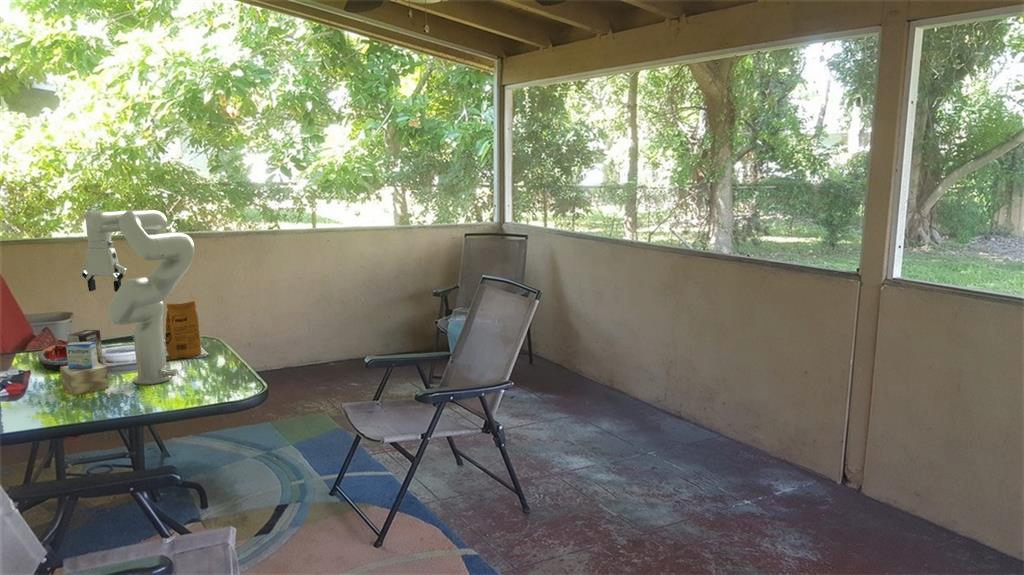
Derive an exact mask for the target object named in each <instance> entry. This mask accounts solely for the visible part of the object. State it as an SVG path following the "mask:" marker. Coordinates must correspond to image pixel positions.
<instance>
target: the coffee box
mask: <svg viewBox="0 0 1024 575" xmlns="http://www.w3.org/2000/svg"><path fill="white" fill-rule="evenodd" d="M66 338H67V344H69V343H71V342H94V341H95V342H96V351H97V361H98V362H99V363H100V364H102V365H104V357H103V348H102V339H101V338H102V337H101V330H100V329H83V330H81V331H77V332H76V331H75V332H74V333H70V334H67V335H66ZM104 366H105V365H104Z"/></svg>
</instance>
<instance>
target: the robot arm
mask: <svg viewBox="0 0 1024 575" xmlns="http://www.w3.org/2000/svg"><path fill="white" fill-rule="evenodd" d="M84 218H85V225H86V234H87V244H88V245H87V246H88V248H87V249H86V257H85V258H86V259H85V261H86V263H85V265H83V266H82V267H79V272H80V274H81V276H82V277H83V278H84V279H85V281H87V288H88V292H93V291H96V290H97V287H96V280H95V277H97V276H98V277H111V278H112V279H114V280H113V290H114V292H115V294H114V296H113V297H112V300H111V301H110V303H109V306H108V317H109V319H110V320H111V322H113V324H116V325H119V326H126V325H130V324H134V323H135V326H134V329H133V343H134V351H135V352H134V353H135V361H136V373H137V375H136V376H135V377H133V379H132V381H133V384H135V385H148V386H149V385H155V384H161V383H165V382H168V381H169V380H171V379H173V377H176V376H177V374H178V370H177V369H174V368H173V369H171V366H170V365H167V357H166V344H165V337H164V312H165V311H164V310H165V303H164V302H165V300H167V299H168V297H169V296H170V295H171V293H172V292H173V290H174V289H175V288H176V286H177V284H178V283H179V281H180V280H181V279H182V277H183V276H184V275H185V274H186V272H188V270H189V269H190V267H191V266H192V264H193V261H194V259H195V251H196V250H195V243H194V240H193V238H192V237H190V235H188V234H186V233H183V232H164V231H165V230H166V229H167V226H168V219H167V217H166V215H165V214H164V213H163V212H161V211H159V210H157V209H127V210H111V211H110V210H109V211H105V210H91V211H87V212H86V213H85V216H84ZM118 232H119V233H120V232H121V233H122V235H123V237H124V238H125V239H126V241H127V242H128V244H129V245H130V246H131V247H132V249H133V250H134V251H135V254H137V256H138V257H139V258H141V259H142V260H143V261H148V262H149V261H150V262H153V261H159V260H162V261H161V262H159V263H158V264H157V265H156V266H155V268H153V271H152V272H150V274H149V275H146V276H141V277H136V278H135V277H134V278H130V279H127V280H125V281H124V282H122V279H123V278H124V277H125V276H126V273H127V267H125V266H122V265H120V262H119V261H120V260H119V258H118V254H117V250H116V248H115V247H113V246H115V244H116V242H115V241H113V240H112V233H118ZM162 232H163V233H162Z"/></svg>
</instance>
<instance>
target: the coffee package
mask: <svg viewBox="0 0 1024 575" xmlns="http://www.w3.org/2000/svg"><path fill="white" fill-rule="evenodd" d="M166 309H167V311H166V317H165V318H166V319H165V321H166V323H165V337H164V341H165V352H166V353H167V354H168V357H169V359H171V360H176V359H180V358H191V357H195V356H199V355H202V344H201V336H200V335H201V334H200V324H199V318H198V313H197V304H196V300H194V299H193V300H190V301H187V302H182V303H166Z"/></svg>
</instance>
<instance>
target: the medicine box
mask: <svg viewBox="0 0 1024 575" xmlns="http://www.w3.org/2000/svg"><path fill="white" fill-rule="evenodd" d="M65 345H66V351H67V360H68V369H85V368H93V367H95V366H97V365H98V361H97V351H96V342H95V341H94V342H71V343H69V344H68V343H67V344H65Z"/></svg>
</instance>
